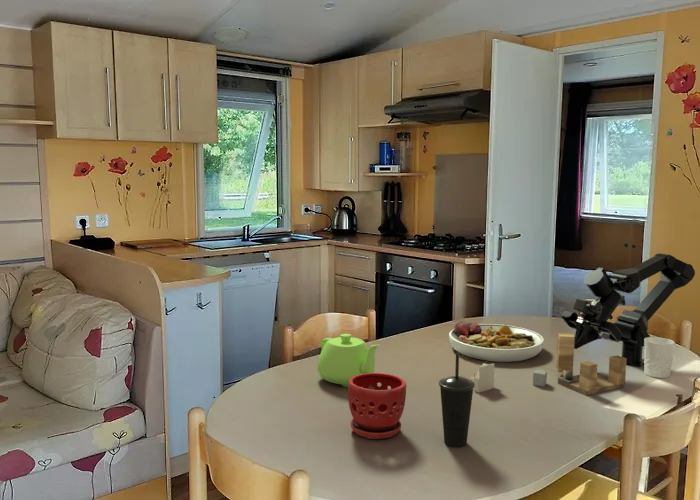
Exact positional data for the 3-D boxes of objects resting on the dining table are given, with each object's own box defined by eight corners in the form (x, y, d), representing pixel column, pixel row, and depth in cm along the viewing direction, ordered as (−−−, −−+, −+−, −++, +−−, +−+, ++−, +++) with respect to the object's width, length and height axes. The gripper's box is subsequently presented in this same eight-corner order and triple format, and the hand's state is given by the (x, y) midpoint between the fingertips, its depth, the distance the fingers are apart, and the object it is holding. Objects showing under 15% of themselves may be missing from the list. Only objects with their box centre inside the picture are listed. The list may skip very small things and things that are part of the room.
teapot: (396, 383, 174) (396, 337, 172) (360, 398, 163) (360, 349, 161) (339, 365, 189) (339, 323, 187) (302, 378, 178) (302, 333, 176)
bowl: (554, 346, 209) (555, 323, 208) (527, 371, 184) (528, 345, 183) (469, 333, 225) (469, 311, 224) (433, 354, 200) (434, 331, 199)
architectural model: (469, 390, 170) (470, 364, 169) (487, 385, 173) (488, 359, 172) (478, 394, 167) (479, 367, 166) (496, 389, 171) (497, 362, 170)
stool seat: (594, 375, 180) (596, 348, 178) (624, 387, 170) (626, 358, 169) (557, 383, 174) (559, 354, 172) (587, 395, 164) (588, 365, 163)
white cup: (675, 379, 176) (678, 345, 175) (645, 378, 178) (648, 343, 176) (667, 370, 184) (670, 337, 182) (638, 369, 185) (641, 336, 184)
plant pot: (402, 445, 136) (403, 392, 134) (343, 440, 138) (343, 388, 136) (408, 421, 149) (408, 372, 147) (353, 417, 151) (353, 369, 149)
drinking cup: (434, 435, 141) (435, 349, 138) (467, 434, 141) (470, 348, 138) (442, 451, 133) (444, 360, 130) (477, 449, 134) (480, 359, 131)
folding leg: (577, 380, 171) (578, 342, 170) (561, 379, 172) (563, 342, 170) (570, 368, 181) (571, 333, 179) (555, 367, 181) (557, 332, 180)
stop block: (535, 381, 175) (535, 369, 174) (546, 383, 173) (546, 371, 173) (532, 384, 172) (533, 372, 172) (543, 386, 171) (544, 374, 170)
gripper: (566, 283, 188) (536, 323, 185) (617, 295, 172) (585, 339, 169) (584, 306, 193) (555, 345, 190) (635, 320, 176) (605, 363, 173)
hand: (574, 347), depth 180 cm, fingers closed
